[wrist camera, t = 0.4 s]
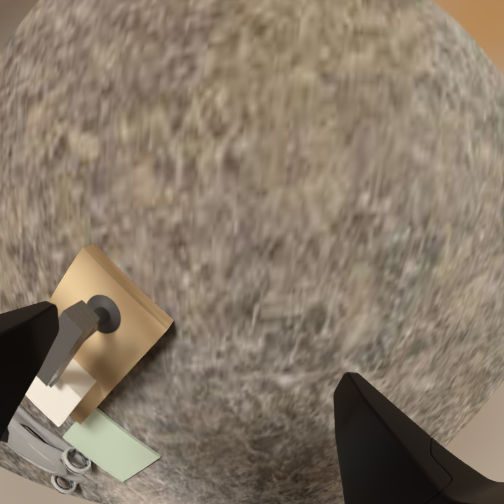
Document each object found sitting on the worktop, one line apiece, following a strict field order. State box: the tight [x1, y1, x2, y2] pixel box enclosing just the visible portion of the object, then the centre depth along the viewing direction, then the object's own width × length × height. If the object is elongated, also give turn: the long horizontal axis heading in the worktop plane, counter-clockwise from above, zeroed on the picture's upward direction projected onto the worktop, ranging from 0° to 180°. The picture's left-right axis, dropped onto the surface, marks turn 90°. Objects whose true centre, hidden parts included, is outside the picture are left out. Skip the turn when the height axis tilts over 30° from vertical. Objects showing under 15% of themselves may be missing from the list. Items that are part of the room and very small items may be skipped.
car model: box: [1, 405, 92, 494], centre depth 24 cm, size 11×24×5 cm, turn 54°
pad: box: [63, 407, 161, 482], centre depth 26 cm, size 9×9×1 cm
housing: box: [49, 244, 174, 425], centre depth 23 cm, size 16×9×2 cm, turn 137°
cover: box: [25, 359, 97, 427], centre depth 21 cm, size 6×6×3 cm
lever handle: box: [37, 300, 110, 388], centre depth 18 cm, size 10×2×7 cm, turn 137°
